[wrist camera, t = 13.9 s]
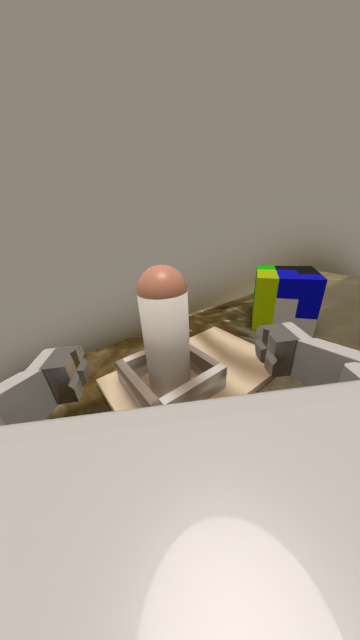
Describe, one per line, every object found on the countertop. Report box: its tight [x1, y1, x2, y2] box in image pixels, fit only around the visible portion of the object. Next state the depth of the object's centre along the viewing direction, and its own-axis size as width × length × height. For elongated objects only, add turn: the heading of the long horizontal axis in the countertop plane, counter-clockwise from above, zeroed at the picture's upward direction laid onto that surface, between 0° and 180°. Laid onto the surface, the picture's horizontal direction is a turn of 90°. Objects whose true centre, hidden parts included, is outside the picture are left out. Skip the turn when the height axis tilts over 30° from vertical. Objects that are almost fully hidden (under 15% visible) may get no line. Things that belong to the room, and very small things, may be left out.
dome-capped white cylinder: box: [137, 265, 191, 398], centre depth 23 cm, size 5×5×14 cm
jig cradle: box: [96, 327, 275, 411], centre depth 28 cm, size 22×14×4 cm, turn 127°
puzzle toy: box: [252, 266, 327, 337], centre depth 40 cm, size 10×10×10 cm
